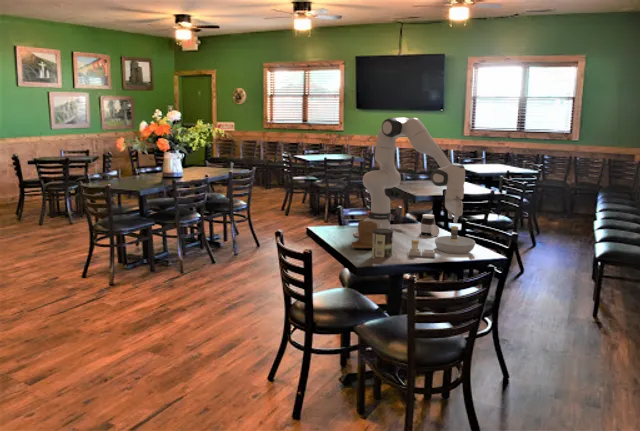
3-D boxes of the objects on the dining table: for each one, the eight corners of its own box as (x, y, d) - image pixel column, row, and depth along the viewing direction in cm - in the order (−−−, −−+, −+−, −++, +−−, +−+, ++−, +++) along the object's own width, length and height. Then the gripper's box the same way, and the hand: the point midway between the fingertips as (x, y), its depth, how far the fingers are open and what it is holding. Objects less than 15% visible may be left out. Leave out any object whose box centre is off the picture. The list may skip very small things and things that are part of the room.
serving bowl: (429, 247, 308) (430, 235, 307) (466, 247, 310) (467, 235, 309) (440, 258, 288) (441, 245, 287) (480, 258, 290) (481, 245, 288)
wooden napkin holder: (375, 244, 312) (376, 218, 309) (380, 250, 301) (381, 222, 298) (348, 245, 310) (349, 218, 308) (352, 250, 299) (353, 223, 296)
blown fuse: (451, 241, 295) (452, 227, 293) (449, 239, 298) (450, 226, 297) (458, 241, 295) (459, 227, 294) (455, 239, 299) (456, 226, 297)
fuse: (410, 255, 286) (411, 241, 284) (410, 253, 289) (411, 239, 288) (418, 255, 285) (418, 241, 284) (417, 254, 289) (418, 239, 287)
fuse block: (407, 259, 283) (407, 252, 282) (407, 254, 293) (407, 247, 292) (435, 261, 281) (436, 253, 280) (434, 256, 291) (435, 248, 290)
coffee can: (389, 254, 292) (390, 228, 289) (393, 260, 282) (394, 232, 279) (370, 254, 291) (371, 228, 289) (373, 260, 281) (374, 232, 278)
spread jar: (423, 231, 347) (424, 213, 345) (441, 233, 342) (442, 215, 340) (418, 235, 336) (419, 216, 334) (436, 237, 332) (438, 218, 329)
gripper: (467, 198, 282) (464, 225, 285) (455, 191, 302) (453, 216, 305) (454, 198, 282) (452, 225, 285) (443, 191, 302) (441, 216, 305)
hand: (452, 220), depth 295 cm, fingers open, 8 cm apart
